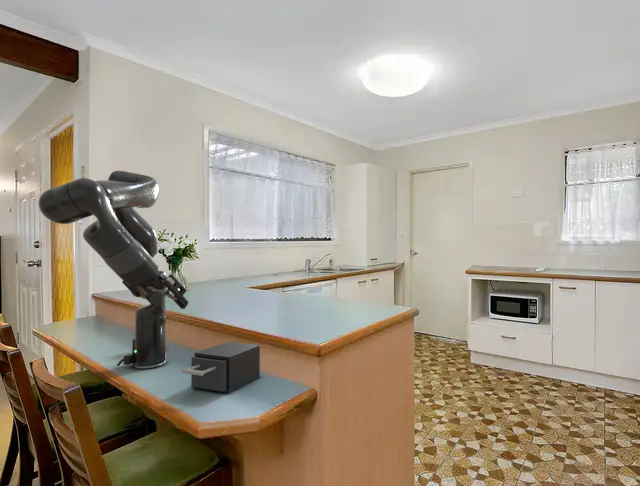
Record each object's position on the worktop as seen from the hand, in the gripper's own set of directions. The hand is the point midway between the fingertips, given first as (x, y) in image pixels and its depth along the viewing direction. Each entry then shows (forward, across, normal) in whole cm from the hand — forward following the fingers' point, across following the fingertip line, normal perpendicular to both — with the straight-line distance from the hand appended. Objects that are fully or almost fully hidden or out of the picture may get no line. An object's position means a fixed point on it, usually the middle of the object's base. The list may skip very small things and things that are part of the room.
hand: (171, 305), depth 92 cm
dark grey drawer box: (+34, 0, +3) cm, 34 cm away
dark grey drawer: (+30, 0, +6) cm, 30 cm away
